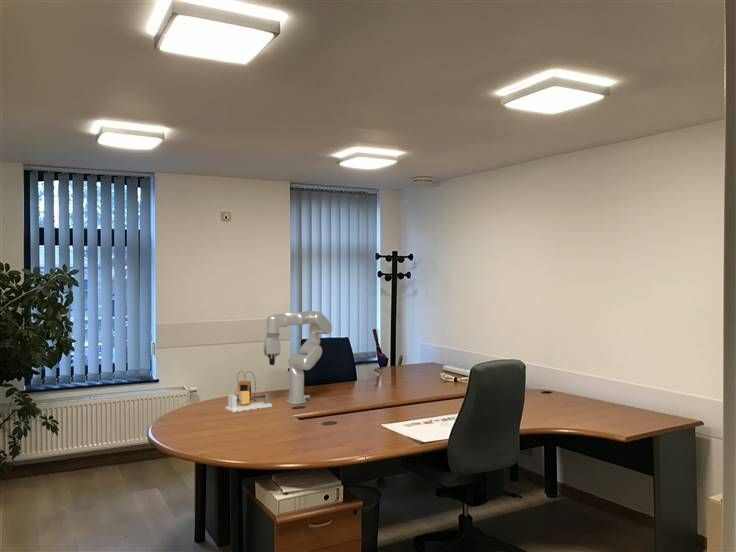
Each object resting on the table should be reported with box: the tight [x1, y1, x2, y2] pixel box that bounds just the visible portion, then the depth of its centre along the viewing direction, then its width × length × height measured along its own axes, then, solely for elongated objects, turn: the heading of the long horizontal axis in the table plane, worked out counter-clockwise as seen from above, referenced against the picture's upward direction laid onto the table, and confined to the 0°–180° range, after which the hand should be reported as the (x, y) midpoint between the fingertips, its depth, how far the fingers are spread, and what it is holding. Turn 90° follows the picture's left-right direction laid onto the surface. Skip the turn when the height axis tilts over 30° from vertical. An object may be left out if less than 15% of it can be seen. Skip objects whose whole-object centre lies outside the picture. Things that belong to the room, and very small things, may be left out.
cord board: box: [225, 393, 273, 413], centre depth 364 cm, size 27×10×9 cm, turn 130°
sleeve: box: [238, 391, 251, 405], centre depth 362 cm, size 5×4×7 cm
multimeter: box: [234, 370, 257, 402], centre depth 386 cm, size 15×10×20 cm
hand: (271, 364), depth 365 cm, fingers closed
